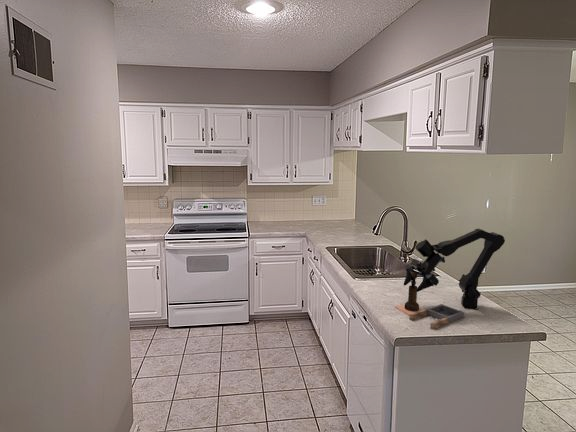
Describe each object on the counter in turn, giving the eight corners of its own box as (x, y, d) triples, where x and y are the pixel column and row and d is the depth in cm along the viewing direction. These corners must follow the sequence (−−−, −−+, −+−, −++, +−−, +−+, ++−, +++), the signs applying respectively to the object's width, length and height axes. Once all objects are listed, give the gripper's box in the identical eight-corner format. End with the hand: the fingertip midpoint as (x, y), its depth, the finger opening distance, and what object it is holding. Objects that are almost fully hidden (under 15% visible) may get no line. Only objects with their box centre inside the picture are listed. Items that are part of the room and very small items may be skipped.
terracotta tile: (412, 304, 207) (412, 303, 207) (428, 312, 197) (428, 311, 197) (394, 307, 203) (394, 306, 203) (409, 315, 193) (409, 314, 193)
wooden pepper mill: (416, 306, 203) (418, 270, 200) (420, 311, 197) (423, 274, 194) (402, 306, 203) (405, 270, 200) (407, 311, 196) (409, 274, 194)
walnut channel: (424, 314, 195) (424, 309, 195) (447, 323, 185) (448, 318, 185) (409, 319, 189) (409, 314, 188) (432, 329, 179) (433, 323, 178)
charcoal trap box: (441, 308, 202) (441, 303, 202) (463, 317, 192) (464, 312, 192) (425, 314, 195) (425, 309, 195) (448, 323, 186) (448, 317, 185)
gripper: (408, 248, 205) (389, 272, 203) (435, 257, 188) (414, 283, 186) (420, 262, 210) (401, 285, 207) (447, 272, 193) (427, 298, 190)
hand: (410, 288), depth 198 cm, fingers open, 9 cm apart
